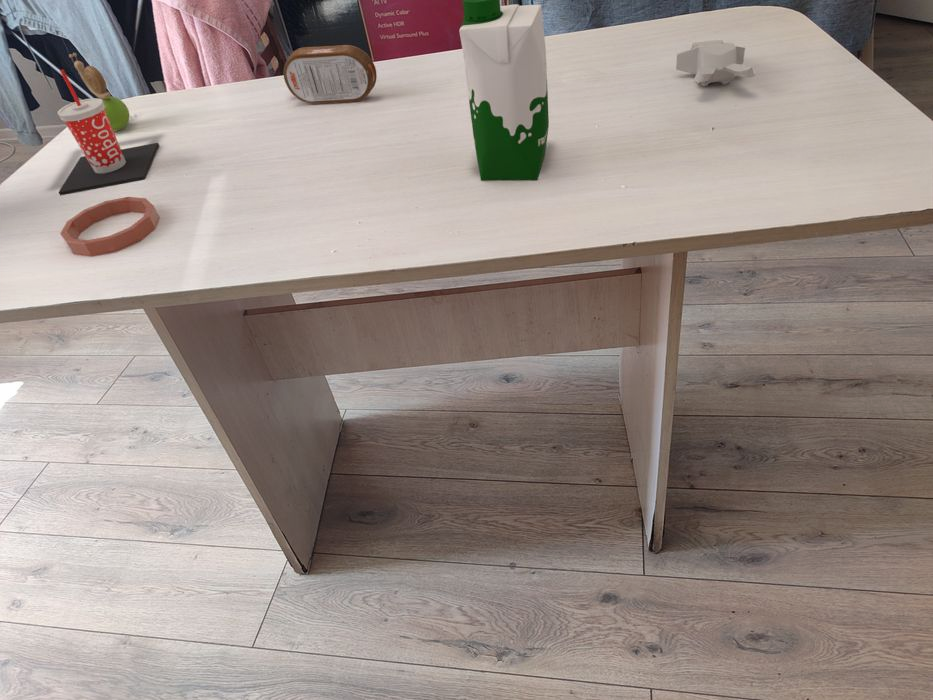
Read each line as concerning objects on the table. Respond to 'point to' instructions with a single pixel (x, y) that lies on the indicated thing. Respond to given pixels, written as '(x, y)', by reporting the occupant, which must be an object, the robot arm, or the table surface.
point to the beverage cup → (92, 132)
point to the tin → (330, 74)
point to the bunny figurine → (714, 62)
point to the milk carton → (506, 87)
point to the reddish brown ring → (115, 240)
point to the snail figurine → (103, 95)
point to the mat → (131, 171)
